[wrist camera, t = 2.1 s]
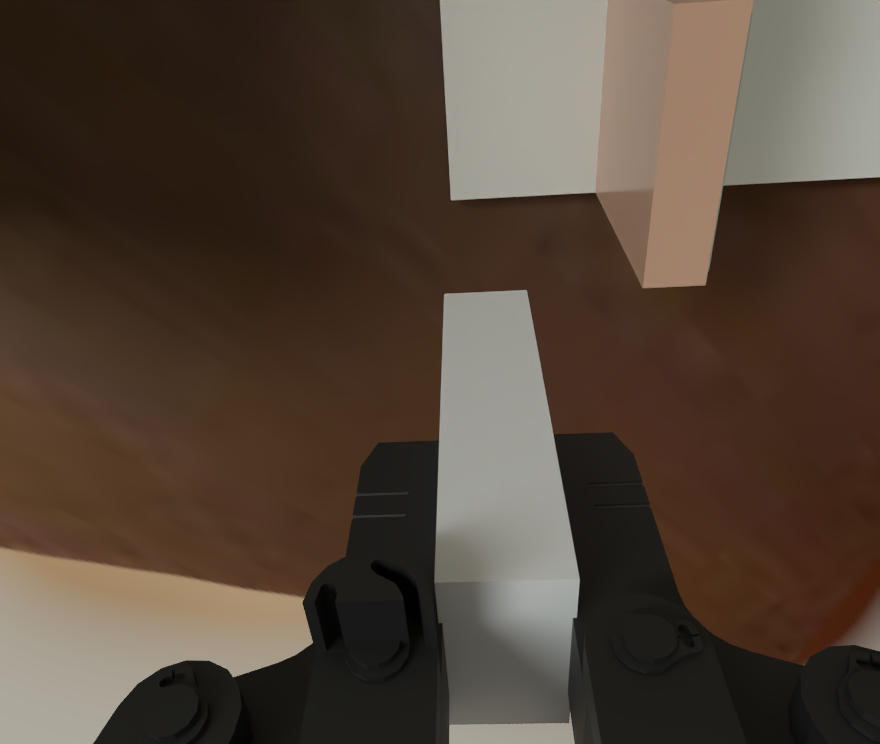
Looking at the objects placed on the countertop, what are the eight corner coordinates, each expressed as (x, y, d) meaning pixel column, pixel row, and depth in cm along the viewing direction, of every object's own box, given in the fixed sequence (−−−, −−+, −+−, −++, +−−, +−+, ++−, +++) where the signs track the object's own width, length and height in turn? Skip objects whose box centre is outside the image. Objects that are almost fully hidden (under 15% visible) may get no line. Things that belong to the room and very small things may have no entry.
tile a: (595, 192, 33) (642, 288, 25) (609, -25, 28) (675, 3, 20) (645, 189, 33) (709, 285, 24) (668, -29, 28) (759, -2, 19)
